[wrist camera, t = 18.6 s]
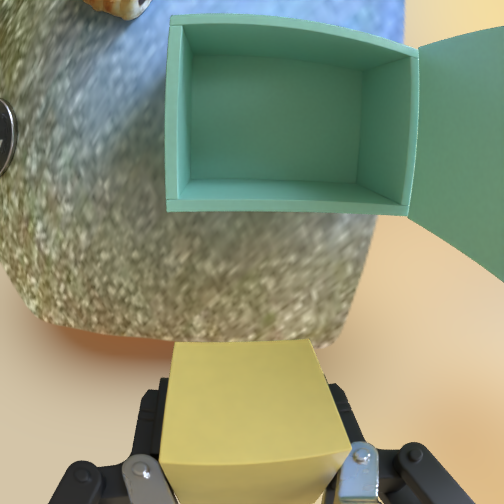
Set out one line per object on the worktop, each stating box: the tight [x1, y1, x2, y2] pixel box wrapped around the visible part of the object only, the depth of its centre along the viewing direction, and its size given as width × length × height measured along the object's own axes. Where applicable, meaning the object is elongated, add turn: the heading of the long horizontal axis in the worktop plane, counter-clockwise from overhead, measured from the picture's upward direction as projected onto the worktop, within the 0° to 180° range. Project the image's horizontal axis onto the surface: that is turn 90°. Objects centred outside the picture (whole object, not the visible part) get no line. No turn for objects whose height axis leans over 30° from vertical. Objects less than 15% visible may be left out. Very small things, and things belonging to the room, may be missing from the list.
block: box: [159, 339, 352, 504], centre depth 9 cm, size 5×5×5 cm
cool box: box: [164, 14, 419, 216], centre depth 20 cm, size 17×13×9 cm
